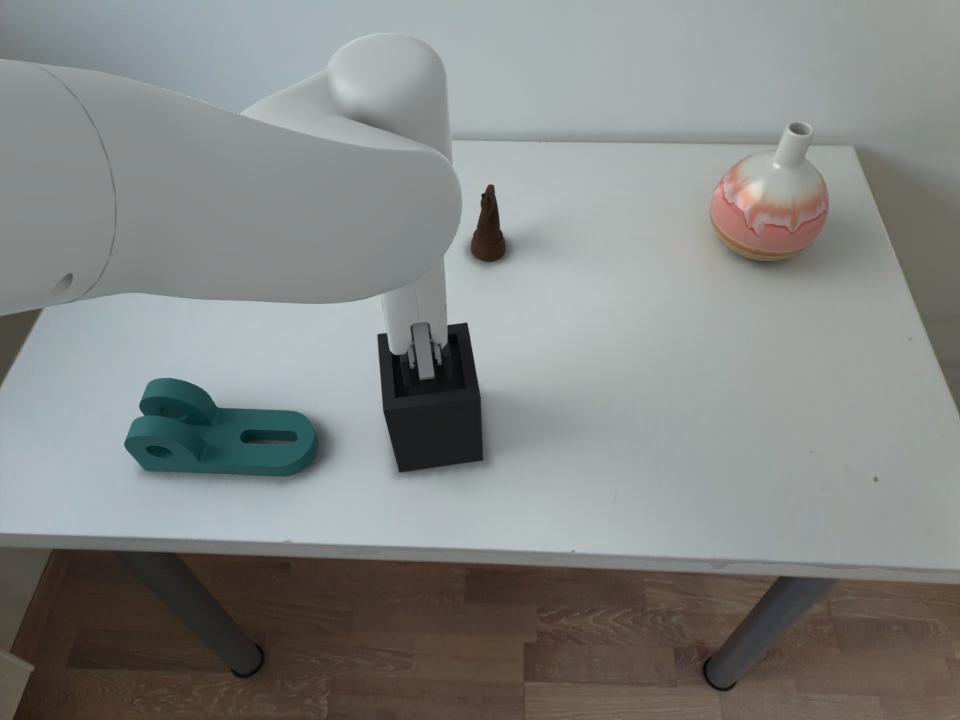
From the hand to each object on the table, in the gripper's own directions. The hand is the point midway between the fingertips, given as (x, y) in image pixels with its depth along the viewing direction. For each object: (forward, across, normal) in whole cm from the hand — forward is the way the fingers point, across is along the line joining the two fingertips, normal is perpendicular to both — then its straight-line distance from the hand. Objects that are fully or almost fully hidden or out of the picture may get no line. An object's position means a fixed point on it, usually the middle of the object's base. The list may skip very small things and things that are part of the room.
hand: (425, 357), depth 66 cm
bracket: (+14, -2, -22) cm, 26 cm away
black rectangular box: (+14, 0, 0) cm, 14 cm away
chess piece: (+14, -26, +10) cm, 31 cm away
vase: (+14, -22, +44) cm, 51 cm away
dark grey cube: (+1, 0, 0) cm, 1 cm away
